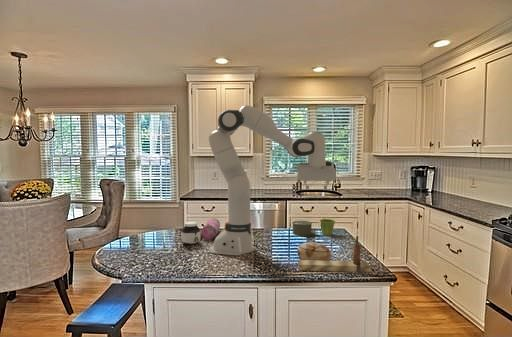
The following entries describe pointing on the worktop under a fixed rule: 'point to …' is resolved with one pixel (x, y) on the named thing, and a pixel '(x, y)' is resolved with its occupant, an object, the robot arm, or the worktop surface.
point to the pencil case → (210, 229)
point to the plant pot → (327, 226)
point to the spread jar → (190, 233)
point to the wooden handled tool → (356, 253)
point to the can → (302, 228)
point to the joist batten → (333, 266)
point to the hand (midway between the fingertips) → (316, 189)
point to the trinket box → (313, 252)
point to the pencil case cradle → (202, 236)
